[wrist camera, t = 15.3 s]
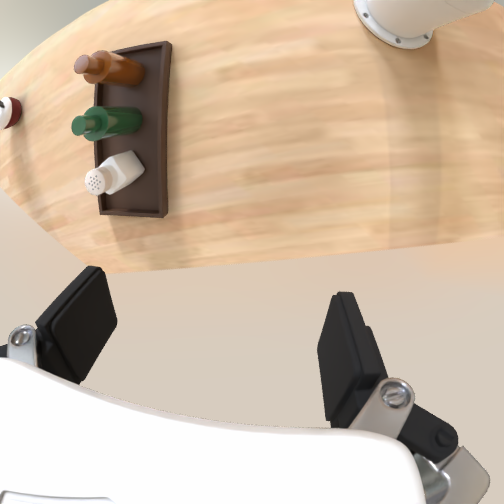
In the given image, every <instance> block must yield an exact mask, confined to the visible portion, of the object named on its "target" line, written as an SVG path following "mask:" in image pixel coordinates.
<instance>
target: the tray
mask: <svg viewBox="0 0 504 504" xmlns="http://www.w3.org/2000/svg"><path fill="white" fill-rule="evenodd" d="M171 50H172V44H171V43H169V42H168V41H163V42H156V43H150V44H144V45H139V46H134V47H129V48H124V49H120V50H116V51H112V52H111V53H114V54H117V55H120V56H123V57H127V58H130V59H133V60H135V61H138V62H141V63H142V64H143V66H144V68H145V75H144V78H143V80H142V81H141V82H140V83H139V84H138V85H137V86H135V87H133V88H125V87H117V86H109V85H100V84H95V93H94V106H134V107H137V108H138V109H139V110H140V111H141V113H142V117H143V121H142V125H141V127H140V128H139V130H138V131H137V132H135V133H133V134H129V135H124V136H118V137H113V138H108V139H103V140H98V141H94V155H95V168H98V167H99V166H100V165H101V164H102V163H103V162H104V161H105V160H106V159H107V158H109V157H111V156H114V155H117V154H121V153H124V152H128V151H133V152H134V153H135V155H136V156H137V158H138V159H139V161H140V162H141V164H142V165H143V167H144V169H145V170H144V172H143V174H141V175H140V176H139V177H138V178H137V179H136V180H134V181H133V182H132V183H131V184H129V185H128V186H126V187H124V188H122V189H120V190H118V191H117V192H115V193H113V194H110V195H109V194H107V193H106V192H104V193H102V194H100V195H98V203H99V212H100V215H118V216H138V217H157V218H163V217H164V216H166V215H167V214H168V202H167V107H168V87H169V73H170V60H171Z"/></svg>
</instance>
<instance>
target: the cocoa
mask: <svg viewBox="0 0 504 504" xmlns="http://www.w3.org/2000/svg"><path fill="white" fill-rule="evenodd" d="M20 115H21V104H20V102H19V100H17V99H14V98H11V97H4V98H3V99H2V100H1V101H0V130H2V129H6V128H9V127H11V126H13V125H14V124H15V123H16V122H17V121H18V119H19V117H20Z"/></svg>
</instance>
